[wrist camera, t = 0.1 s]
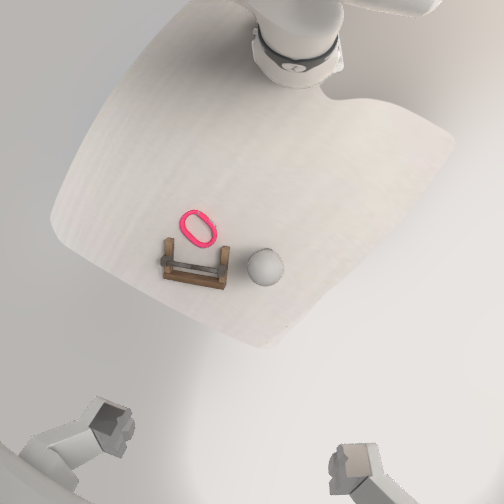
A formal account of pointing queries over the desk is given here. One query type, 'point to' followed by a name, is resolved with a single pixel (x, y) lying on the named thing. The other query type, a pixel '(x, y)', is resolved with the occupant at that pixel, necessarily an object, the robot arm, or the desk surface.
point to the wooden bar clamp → (190, 277)
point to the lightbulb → (265, 267)
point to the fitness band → (190, 236)
